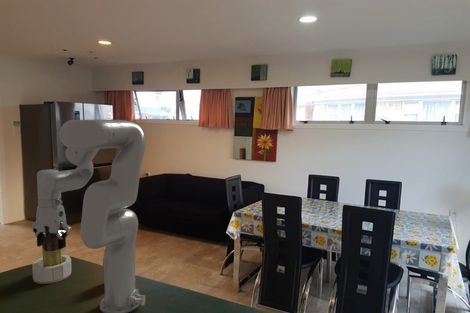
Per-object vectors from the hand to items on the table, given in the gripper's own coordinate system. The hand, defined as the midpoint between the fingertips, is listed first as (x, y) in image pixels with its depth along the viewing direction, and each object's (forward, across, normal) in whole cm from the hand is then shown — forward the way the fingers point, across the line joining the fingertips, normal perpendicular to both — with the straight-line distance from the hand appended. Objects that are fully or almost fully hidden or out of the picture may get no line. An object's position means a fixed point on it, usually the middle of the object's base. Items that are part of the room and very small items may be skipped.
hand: (51, 246), depth 122 cm
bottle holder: (+12, 0, 0) cm, 12 cm away
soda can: (+12, -26, -1) cm, 29 cm away
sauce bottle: (+11, 0, 0) cm, 11 cm away
